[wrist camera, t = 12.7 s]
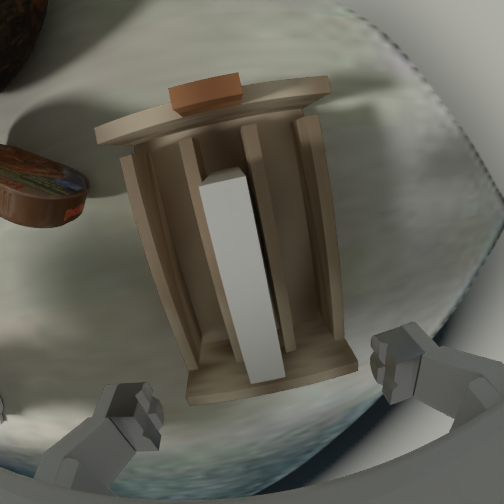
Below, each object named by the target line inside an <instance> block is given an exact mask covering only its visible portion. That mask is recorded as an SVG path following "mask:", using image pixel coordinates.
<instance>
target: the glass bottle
mask: <svg viewBox="0 0 504 504" xmlns="http://www.w3.org/2000/svg"><path fill="white" fill-rule="evenodd" d="M47 4H48V0H0V92H1V91H2V90H3V89H4V88H5V87H6V85H7V84H8V83H9V82H10V81H11V80H12V78H13V77H14V76H15V75H16V73H17V72H18V71H19V69H20V68H21V66H22V65H23V64H24V62H25V60H26V59H27V57H28V56H29V54H30V52H31V50H32V48H33V46H34V44H35V42H36V40H37V37H38V35H39V33H40V31H41V28H42V25H43V21H44V18H45V14H46V10H47Z"/></svg>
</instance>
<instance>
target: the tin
mask: <svg viewBox="0 0 504 504" xmlns="http://www.w3.org/2000/svg"><path fill="white" fill-rule="evenodd" d="M89 189H90V182H89V180H88V179H87V178H86V177H85V176H84V175H83V174H81V173H80V172H78V171H76V170H74V169H72V168H69V167H67V166H64V165H62V164H59V163H56V162H53V161H51V160H48V159H45V158H43V157H40V156H37V155H35V154H32V153H29V152H27V151H24V150H21V149H18V148H16V147H12V146H8V145H3V144H0V217H2V218H4V219H6V220H8V221H10V222H13V223H15V224H18V225H22V226H27V227H33V228H53V227H59V226H62V225H64V224H66V223H68V222H71V221H73V220H75V219H76V218H78V217H79V216H80V215H81V213H82V211H83V208H84V204H85V200H86V196H87V192H88V190H89Z"/></svg>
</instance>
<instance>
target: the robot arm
mask: <svg viewBox="0 0 504 504" xmlns="http://www.w3.org/2000/svg"><path fill="white" fill-rule="evenodd" d="M371 347H372V349H373V350H374V352H373V353H372V355H371V356H370V365H371V370H372V374H373V376H374V378H375V380H376V382H377V383H379V384H382V385H383V388H382V392H383V394H384V395H385V397H386V399H387V400H388V402H389V404H390V405H392V404H394V403H397V402H400V401H403V400H405V399H408V398H410V397H412V396H414V398H415V399H417V400H419V401H421V402H423V403H425V404H427V405H429V406H431V407H432V408H434V409H436V410H438V411H440V412H442V413H444V414H446V415H448V416H450V417H452V418H454V419H455V420H454V423H453V425H452V427H451V429H450V431H449V433H448V434H446V435H444V436H442V437H440V438H438V439H436V440H434V441H432V442H430V443H428V444H426V445H424V446H422V447H420V448H418V449H416V450H413V451H411V452H409V453H407V454H404V455H402V456H400V457H397V458H395V459H393V460H390V461H388V462H386V463H382V464H380V465H377V466H374V467H372V468H369V469H366V470H363V471H360V472H357V473H354V474H351V475H348V476H345V477H341V478H338V479H334V480H331V481H327V482H324V483H319V484H315V485H311V486H307V487H303V488H298V489H293V490H289V491H283V492H278V493H271V494H266V495H258V496H251V497H242V498H233V499H220V500H202V501H162V500H144V499H132V498H122V497H118V496H117V495H116V494H114V493H113V492H112V491H111V490H110V489H108V487H109V485H110V484H111V483H112V482H113V481H114V479H115V478H116V477H117V476H118V474H119V473H120V472H121V471H122V470H123V468H124V467H125V466H126V465H127V463H128V462H129V461H130V460H131V458H132V457H133V456H134V455H135V454H136V452H135V451H159V446H160V440H161V434H160V433H159V431H158V430H159V429H160V428H161V427H162V426H163V422H164V413H163V409H162V406H161V403H160V402H159V400H158V399H157V398H155V397H153V396H152V394H153V389H152V388H151V386H150V384H149V383H146V382H141V383H122V384H108V385H106V386H105V387H104V390H103V392H102V394H101V397H100V399H99V401H98V404H97V406H96V409H95V411H94V413H93V416H92V417H88V418H87V419H86V420H84V421H83V422H82V423H81V424H80V425H78V426H77V427H76V428H75V429H73V430H72V431H71V432H70V433H68V434H67V435H66V436H65V437H63V438H62V439H61V440H60V441H58V442H57V443H56V444H55V445H53V446H52V447H51V448H49V449H48V450H47V451H46V452H44V454H43V457H42V459H41V461H40V464H39V466H38V469H37V471H36V474H35V476H34V479H31V478H28V477H25V476H22V475H19V474H16V473H13V472H11V471H8V470H5V469H3V468H0V504H504V364H503V363H502V362H499V361H495V360H491V359H488V358H484V357H481V356H477V355H473V354H470V353H466V352H463V351H459V350H456V349H452V348H449V347H445V346H442V347H439V346H437V345H436V343H435V342H434V341H433V340H432V339H431V338H430V337H429V336H428V335H427V334H426V333H425V332H424V331H423V330H422V329H421V328H420V327H419V326H418V325H417V324H416V323H415V322H410V323H407V324H405V325H402V326H400V327H397V328H394V329H392V330H389V331H386V332H383V333H380V334H377V335H374V336H372V338H371ZM2 411H3V404H2V401H1V398H0V424H2V423H3V422H4V419H3V416H2Z"/></svg>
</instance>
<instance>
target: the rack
mask: <svg viewBox="0 0 504 504" xmlns="http://www.w3.org/2000/svg"><path fill="white" fill-rule="evenodd" d="M168 89H169V94H170V99H171V102H170V103H166V104H163V105H159V106H156V107H153V108H149V109H146V110H143V111H140V112H137V113H134V114H131V115H128V116H125V117H122V118H119V119H116V120H114V121H111V122H108V123H105V124H103V125H100V126H98V127H95V128H94V130H95V135H96V140H97V145H133V146H134V150H135V154H131V155H127V156H124V157H121V158H120V163H121V167H122V171H123V175H124V180H125V184H126V188H127V192H128V195H129V199H130V203H131V207H132V210H133V214H134V218H135V221H136V225H137V228H138V232H139V235H140V238H141V242H142V245H143V248H144V251H145V255H146V258H147V261H148V264H149V267H150V270H151V273H152V276H153V279H154V282H155V285H156V288H157V291H158V293H159V296H160V299H161V302H162V305H163V307H164V310H165V313H166V315H167V318H168V321H169V323H170V326H171V329H172V331H173V334H174V336H175V339H176V341H177V344H178V346H179V349H180V351H181V354H182V356H183V358H184V361H185V363H186V365H187V368H188V370H189V376H188V383H187V390H186V399H187V401H188V403H189V405H190V406H194V405H203V404H211V403H218V402H225V401H231V400H237V399H243V398H249V397H255V396H260V395H265V394H270V393H275V392H280V391H284V390H289V389H293V388H297V387H301V386H306V385H310V384H314V383H317V382H321V381H325V380H329V379H332V378H336V377H339V376H343V375H346V374H349V373H353V372H356V371H358V360H357V358H356V357H355V355H354V353H353V351H352V350H351V348H350V346H349V345H348V343H347V341H346V339H345V338H344V318H343V301H342V287H341V275H340V263H339V253H338V243H337V234H336V225H335V217H334V209H333V202H332V194H331V187H330V181H329V174H328V168H327V162H326V156H325V150H324V144H323V139H322V133H321V128H320V123H319V118H318V114H317V115H309V116H304V115H303V110H302V108H304V107H306V106H308V105H309V104H311V103H313V102H315V101H317V100H319V99H320V98H322V97H324V96H326V95H328V94H330V93H331V88H330V84H329V79H328V76H318V77H306V78H296V79H287V80H279V81H271V82H264V83H258V84H251V85H245V86H241V83H240V78H239V74H238V73H233V74H227V75H222V76H217V77H212V78H208V79H203V80H199V81H195V82H191V83H187V84H183V85H179V86H175V87H171V88H168ZM236 166H238V167H239V168H240V169H241V171H242V172H243V173H244V175H245V176H246V180H247V185H248V190H249V195H250V200H251V204H252V209H253V214H254V219H255V224H256V229H257V234H258V239H259V244H260V249H261V254H262V259H263V264H264V269H265V274H266V279H267V284H268V289H269V294H270V299H271V304H272V309H273V314H274V319H275V324H276V330H277V335H278V340H279V345H280V350H281V355H282V361H283V366H284V371H285V376H286V377H283V378H279V379H274V380H269V381H264V382H259V383H254V384H251V383H250V379H249V376H248V373H247V369H246V366H245V362H244V359H243V356H242V352H241V349H240V345H239V342H238V338H237V335H236V331H235V327H234V324H233V320H232V317H231V313H230V309H229V306H228V302H227V298H226V294H225V291H224V287H223V283H222V279H221V276H220V272H219V268H218V264H217V260H216V256H215V252H214V248H213V244H212V240H211V236H210V232H209V228H208V224H207V220H206V216H205V212H204V208H203V203H202V199H201V195H200V191H199V186H200V184H201V183H202V182H203V181H204V180H205V179H206V178H207V177H208V175H209V174H210V173H211V172H213V171H218V170H222V169H227V168H231V167H236Z"/></svg>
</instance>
